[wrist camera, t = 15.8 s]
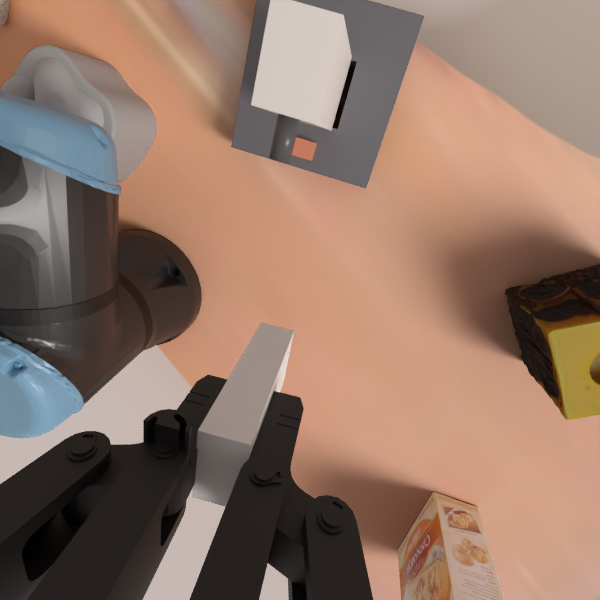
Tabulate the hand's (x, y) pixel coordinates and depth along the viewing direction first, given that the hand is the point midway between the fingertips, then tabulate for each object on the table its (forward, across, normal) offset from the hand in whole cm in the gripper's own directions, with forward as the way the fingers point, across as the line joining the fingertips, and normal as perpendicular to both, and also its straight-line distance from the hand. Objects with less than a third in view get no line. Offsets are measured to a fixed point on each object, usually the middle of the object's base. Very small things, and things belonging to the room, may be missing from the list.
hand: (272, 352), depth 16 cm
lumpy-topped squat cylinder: (+27, -27, +5) cm, 39 cm away
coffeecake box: (+27, +26, -42) cm, 56 cm away
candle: (+27, +27, -4) cm, 38 cm away
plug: (+26, -4, +11) cm, 29 cm away
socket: (+27, -3, +13) cm, 30 cm away
